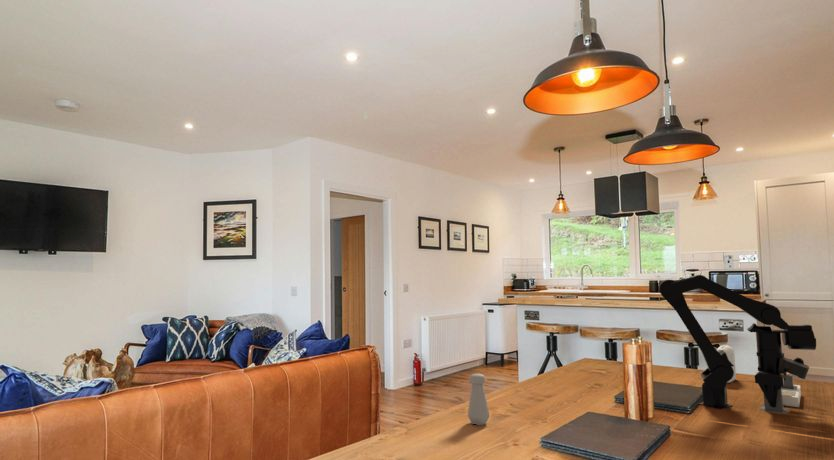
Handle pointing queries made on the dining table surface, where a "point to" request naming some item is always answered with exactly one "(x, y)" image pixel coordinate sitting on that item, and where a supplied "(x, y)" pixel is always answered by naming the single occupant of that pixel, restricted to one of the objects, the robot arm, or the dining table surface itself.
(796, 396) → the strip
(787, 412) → the coaster
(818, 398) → the dining table surface
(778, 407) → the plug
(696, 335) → the robot arm
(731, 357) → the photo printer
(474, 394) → the salt shaker
